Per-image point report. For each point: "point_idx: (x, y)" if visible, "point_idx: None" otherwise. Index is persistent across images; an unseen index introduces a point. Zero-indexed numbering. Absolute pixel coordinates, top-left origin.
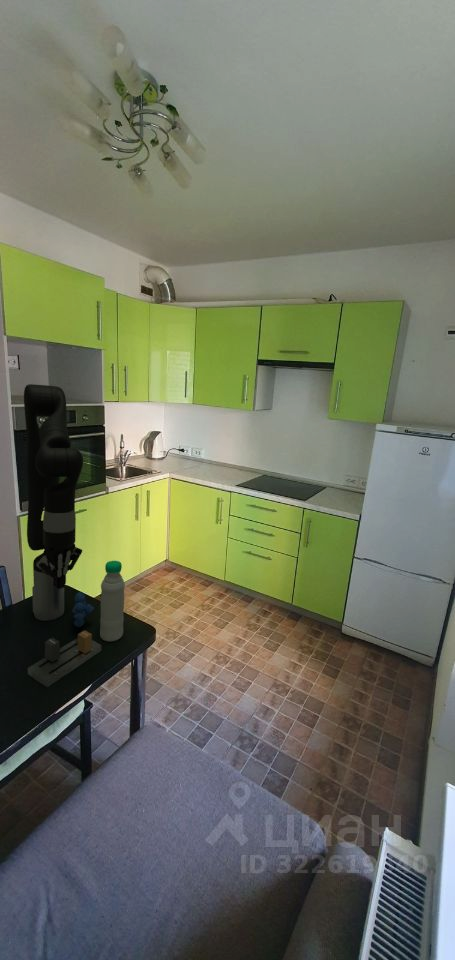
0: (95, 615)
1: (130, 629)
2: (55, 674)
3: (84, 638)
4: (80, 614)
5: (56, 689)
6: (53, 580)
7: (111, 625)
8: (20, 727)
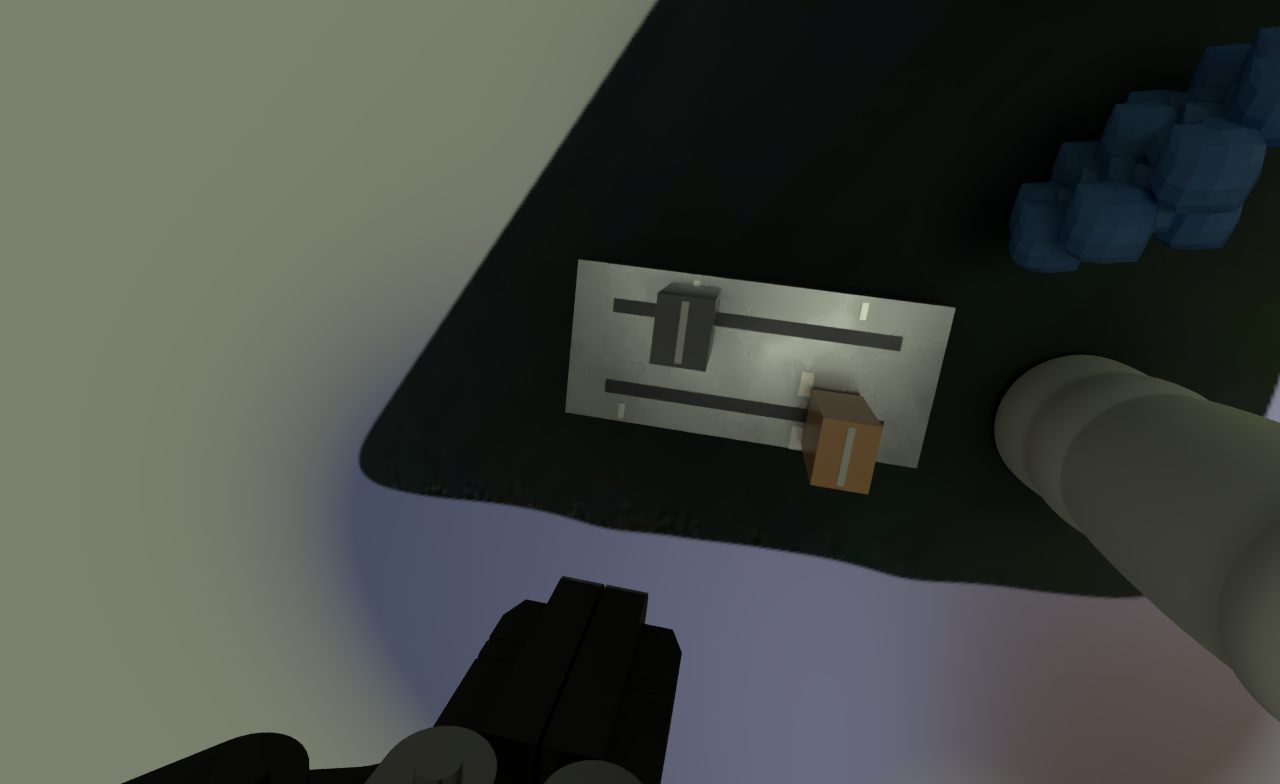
0: None
1: None
2: (616, 414)
3: (811, 477)
4: (1049, 263)
5: (588, 444)
6: (466, 682)
7: (1051, 505)
8: (394, 463)
